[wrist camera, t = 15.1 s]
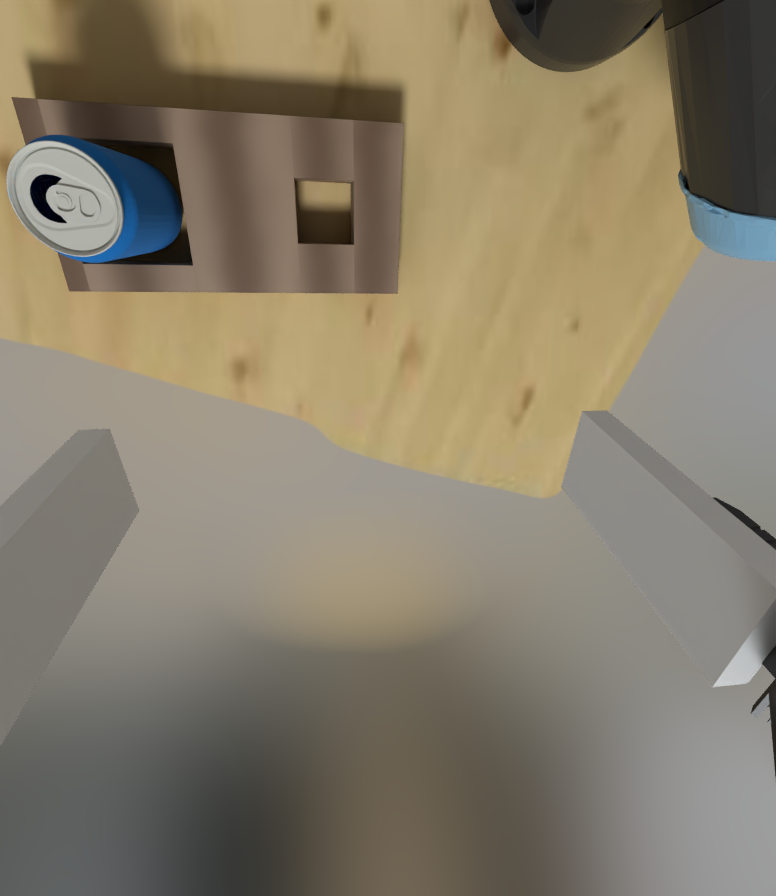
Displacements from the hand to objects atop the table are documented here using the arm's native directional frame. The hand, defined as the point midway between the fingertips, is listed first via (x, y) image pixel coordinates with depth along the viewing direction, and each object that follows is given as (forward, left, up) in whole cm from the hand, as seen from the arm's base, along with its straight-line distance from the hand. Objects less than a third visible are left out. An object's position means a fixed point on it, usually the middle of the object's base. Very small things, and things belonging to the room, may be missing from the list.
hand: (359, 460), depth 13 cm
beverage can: (+14, -7, -31) cm, 35 cm away
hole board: (+7, -7, -31) cm, 32 cm away
